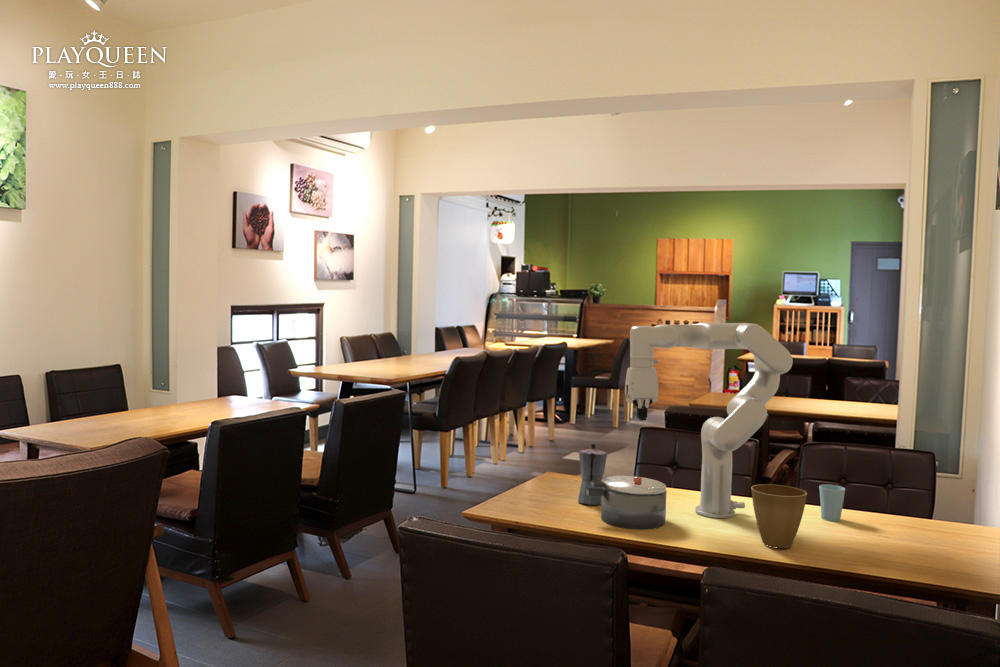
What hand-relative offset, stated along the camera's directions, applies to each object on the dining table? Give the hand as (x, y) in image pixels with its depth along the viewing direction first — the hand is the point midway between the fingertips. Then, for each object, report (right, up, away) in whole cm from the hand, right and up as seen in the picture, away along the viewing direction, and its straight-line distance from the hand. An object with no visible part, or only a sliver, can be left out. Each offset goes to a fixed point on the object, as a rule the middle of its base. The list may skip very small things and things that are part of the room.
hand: (642, 419), depth 237 cm
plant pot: (+33, -33, -29) cm, 55 cm away
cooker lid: (-6, -20, -9) cm, 23 cm away
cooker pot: (-7, -31, -9) cm, 32 cm away
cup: (+61, -32, -1) cm, 69 cm away
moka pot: (-15, -30, +10) cm, 35 cm away
